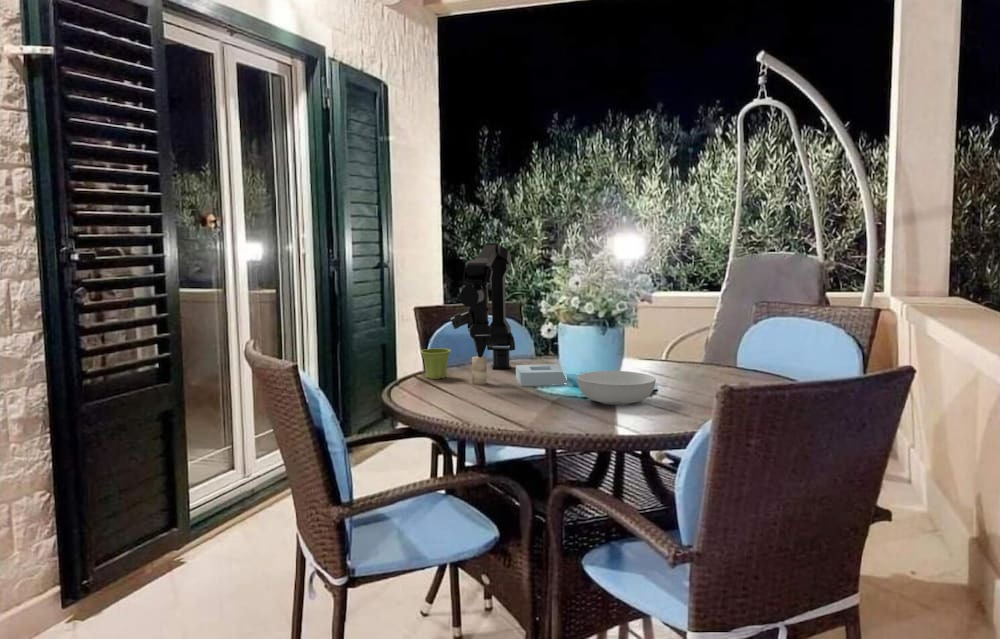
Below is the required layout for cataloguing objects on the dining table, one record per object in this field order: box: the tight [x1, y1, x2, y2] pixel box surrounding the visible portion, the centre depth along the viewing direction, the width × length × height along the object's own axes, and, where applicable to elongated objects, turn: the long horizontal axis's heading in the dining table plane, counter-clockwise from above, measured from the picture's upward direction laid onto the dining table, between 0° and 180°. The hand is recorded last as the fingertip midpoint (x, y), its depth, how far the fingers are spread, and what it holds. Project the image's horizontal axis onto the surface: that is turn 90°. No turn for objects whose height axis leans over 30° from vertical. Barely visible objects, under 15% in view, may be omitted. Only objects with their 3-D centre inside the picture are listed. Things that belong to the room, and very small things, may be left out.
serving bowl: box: [576, 370, 657, 406], centre depth 214 cm, size 21×21×7 cm
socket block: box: [515, 363, 568, 387], centre depth 245 cm, size 14×14×4 cm
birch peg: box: [471, 355, 488, 386], centre depth 242 cm, size 4×4×8 cm
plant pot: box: [420, 347, 452, 380], centre depth 253 cm, size 9×9×9 cm
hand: (479, 354), depth 242 cm, fingers open, 9 cm apart
